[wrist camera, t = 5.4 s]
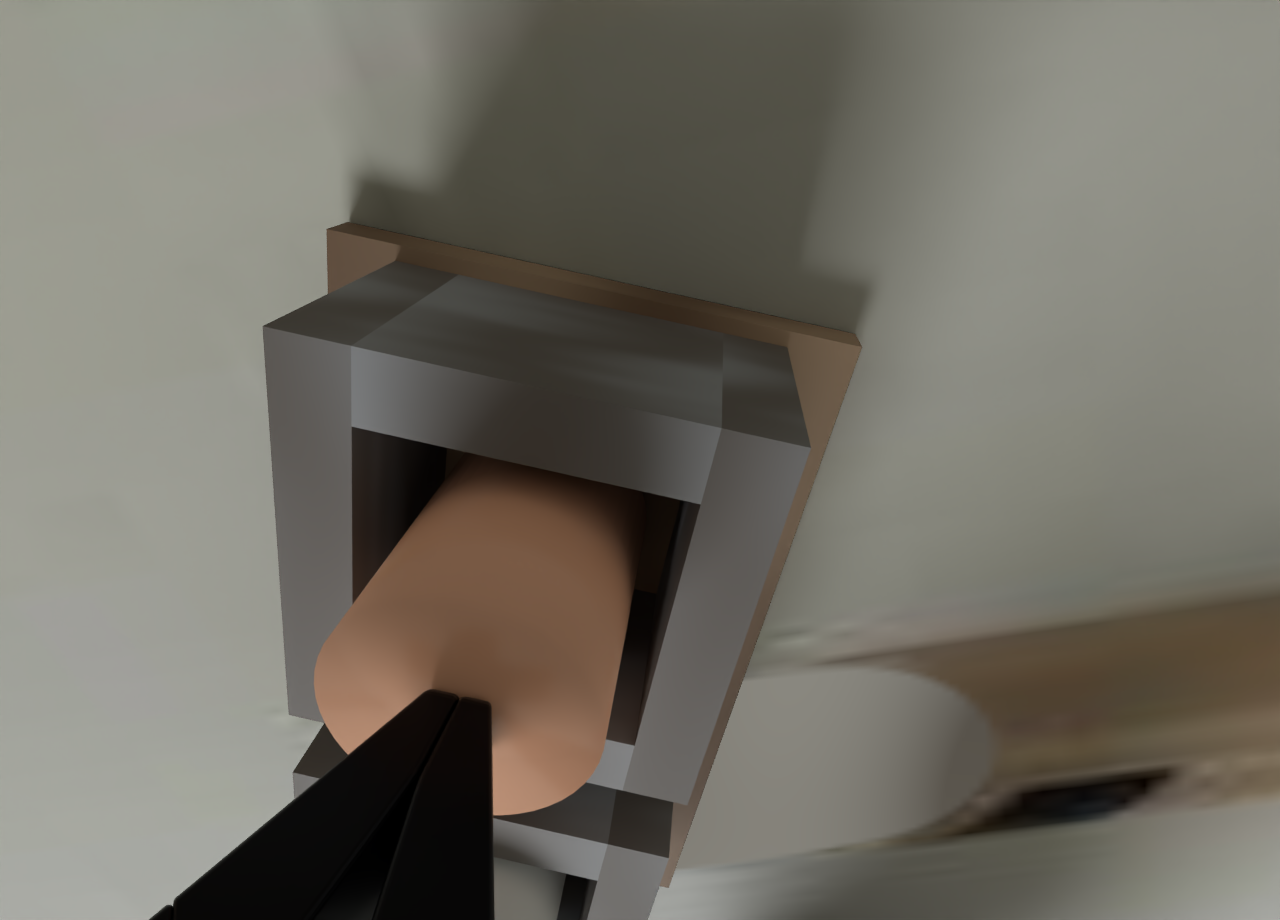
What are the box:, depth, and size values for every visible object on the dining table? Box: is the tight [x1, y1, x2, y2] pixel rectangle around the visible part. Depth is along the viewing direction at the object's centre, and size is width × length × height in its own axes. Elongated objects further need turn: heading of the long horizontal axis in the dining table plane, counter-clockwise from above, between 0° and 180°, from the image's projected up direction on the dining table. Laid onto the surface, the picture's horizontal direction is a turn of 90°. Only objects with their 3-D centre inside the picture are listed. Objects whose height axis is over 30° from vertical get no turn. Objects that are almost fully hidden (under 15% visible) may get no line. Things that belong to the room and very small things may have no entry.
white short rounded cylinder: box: [494, 857, 566, 920], centre depth 16 cm, size 4×4×5 cm
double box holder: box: [263, 222, 862, 920], centre depth 15 cm, size 10×17×5 cm, turn 169°
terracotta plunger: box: [314, 452, 646, 815], centre depth 11 cm, size 4×4×5 cm
